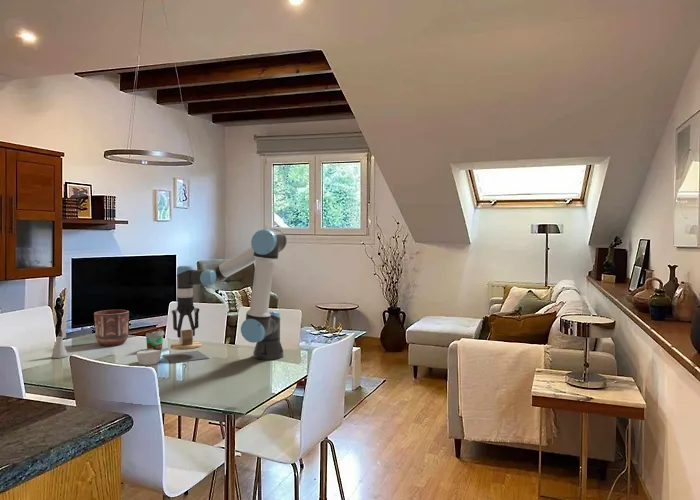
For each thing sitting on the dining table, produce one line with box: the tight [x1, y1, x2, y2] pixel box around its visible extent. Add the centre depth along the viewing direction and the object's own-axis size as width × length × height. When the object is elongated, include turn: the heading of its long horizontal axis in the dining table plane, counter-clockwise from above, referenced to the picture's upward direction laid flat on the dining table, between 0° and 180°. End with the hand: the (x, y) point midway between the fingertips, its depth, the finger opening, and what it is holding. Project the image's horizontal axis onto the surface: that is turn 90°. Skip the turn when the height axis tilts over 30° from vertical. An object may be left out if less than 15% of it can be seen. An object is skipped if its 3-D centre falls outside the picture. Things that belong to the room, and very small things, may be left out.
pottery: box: [93, 309, 130, 347], centre depth 300 cm, size 18×18×18 cm
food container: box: [145, 328, 165, 351], centre depth 286 cm, size 12×6×10 cm, turn 168°
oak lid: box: [170, 329, 203, 351], centre depth 270 cm, size 15×15×8 cm
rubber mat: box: [162, 350, 210, 364], centre depth 271 cm, size 18×18×1 cm
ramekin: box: [136, 349, 162, 366], centre depth 259 cm, size 11×11×5 cm
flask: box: [51, 336, 69, 359], centre depth 270 cm, size 7×7×10 cm
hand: (186, 343), depth 270 cm, fingers closed on oak lid, 4 cm apart
